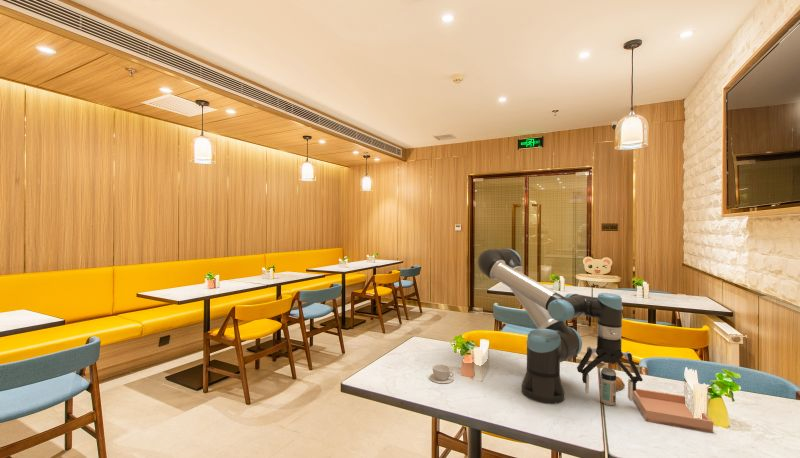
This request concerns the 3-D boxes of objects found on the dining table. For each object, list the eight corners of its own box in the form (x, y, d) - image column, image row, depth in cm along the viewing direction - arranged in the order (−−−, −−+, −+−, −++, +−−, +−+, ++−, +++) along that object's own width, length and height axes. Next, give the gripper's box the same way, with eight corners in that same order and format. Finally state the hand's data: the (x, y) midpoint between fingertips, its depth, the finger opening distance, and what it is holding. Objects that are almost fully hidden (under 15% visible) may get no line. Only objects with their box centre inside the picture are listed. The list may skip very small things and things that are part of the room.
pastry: (617, 394, 132) (617, 384, 132) (598, 388, 137) (598, 378, 137) (625, 387, 138) (625, 378, 138) (607, 382, 144) (607, 372, 144)
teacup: (426, 381, 140) (426, 370, 140) (433, 372, 150) (433, 361, 150) (450, 386, 137) (450, 374, 137) (456, 376, 146) (456, 365, 146)
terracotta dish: (645, 421, 114) (645, 410, 114) (631, 397, 130) (631, 387, 130) (712, 433, 107) (713, 421, 107) (688, 406, 124) (688, 396, 124)
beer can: (613, 401, 127) (614, 368, 127) (617, 407, 122) (618, 373, 122) (599, 398, 128) (599, 366, 128) (601, 405, 124) (602, 371, 124)
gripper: (572, 335, 126) (571, 393, 126) (653, 344, 117) (652, 407, 117) (569, 329, 133) (568, 385, 133) (646, 338, 124) (645, 397, 124)
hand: (608, 395), depth 125 cm, fingers open, 13 cm apart
